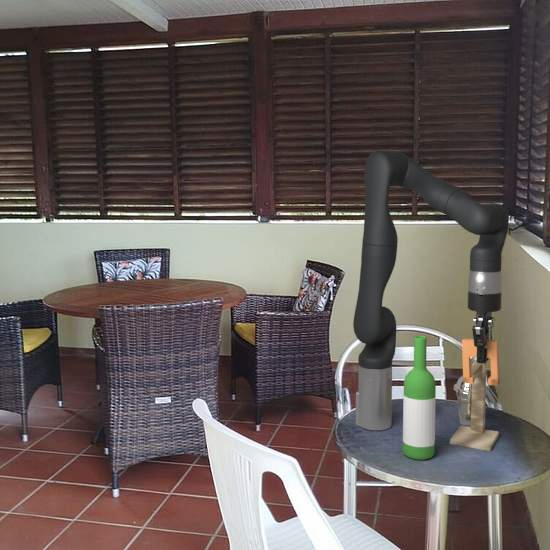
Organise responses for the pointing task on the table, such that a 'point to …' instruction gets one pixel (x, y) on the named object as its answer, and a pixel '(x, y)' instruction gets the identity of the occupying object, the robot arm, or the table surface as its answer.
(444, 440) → the table surface
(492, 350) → the c link
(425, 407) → the wine bottle
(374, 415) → the robot arm
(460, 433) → the hook stand
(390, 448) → the table surface
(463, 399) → the cup with straw
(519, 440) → the table surface
